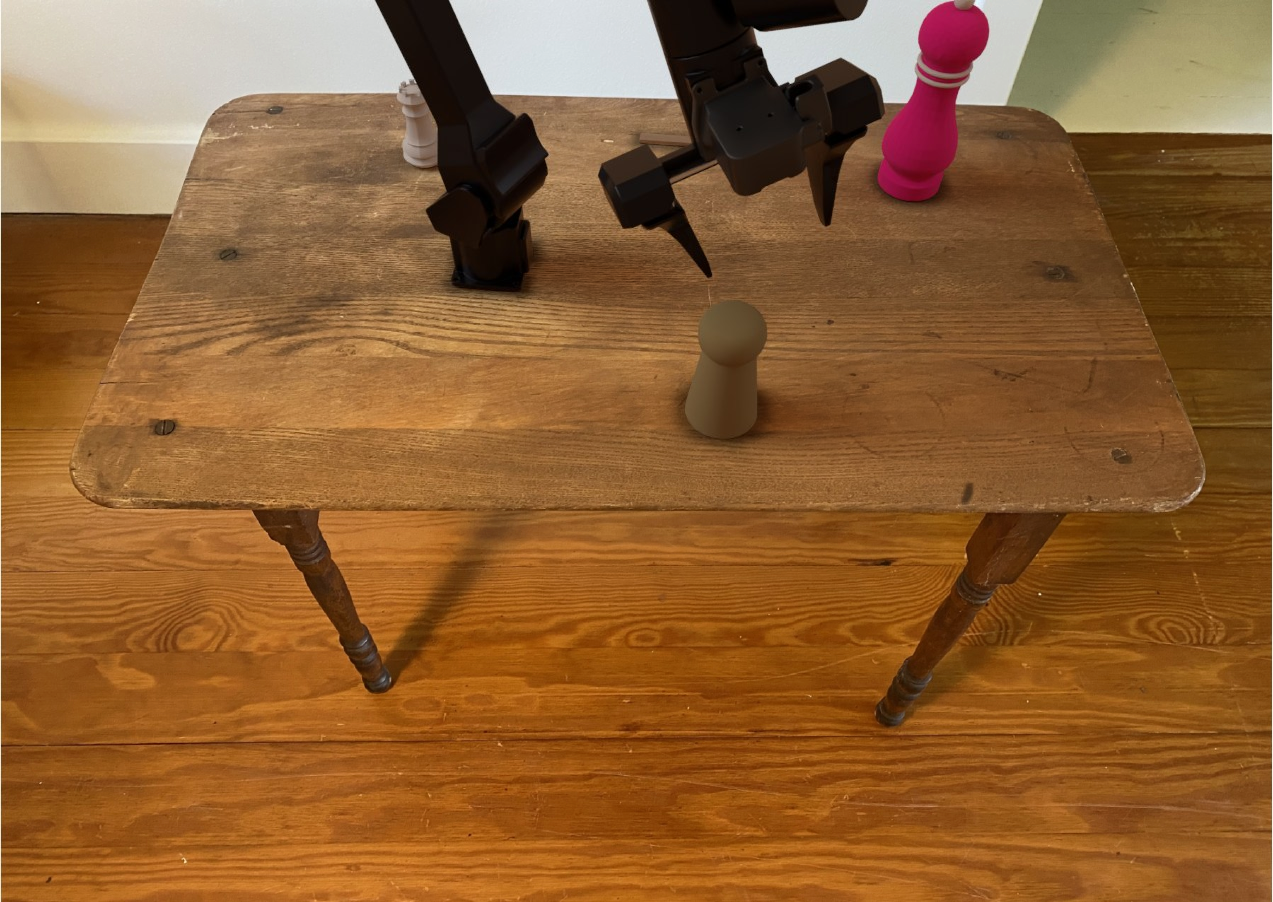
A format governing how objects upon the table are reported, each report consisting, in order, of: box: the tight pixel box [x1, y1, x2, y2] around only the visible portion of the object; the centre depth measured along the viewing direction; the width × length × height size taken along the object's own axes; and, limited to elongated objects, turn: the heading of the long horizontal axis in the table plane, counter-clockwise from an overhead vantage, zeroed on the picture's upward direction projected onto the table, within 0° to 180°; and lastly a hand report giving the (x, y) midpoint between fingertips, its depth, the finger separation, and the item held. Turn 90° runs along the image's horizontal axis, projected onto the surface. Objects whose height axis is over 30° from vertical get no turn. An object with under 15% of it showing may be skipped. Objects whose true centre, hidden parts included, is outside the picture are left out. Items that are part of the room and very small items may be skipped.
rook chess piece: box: [396, 78, 438, 169], centre depth 92 cm, size 4×4×8 cm
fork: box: [639, 132, 692, 147], centre depth 97 cm, size 19×2×1 cm, turn 85°
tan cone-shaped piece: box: [684, 299, 768, 440], centre depth 72 cm, size 6×6×11 cm
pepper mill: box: [877, 0, 990, 202], centre depth 86 cm, size 7×7×20 cm
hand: (767, 250), depth 67 cm, fingers open, 9 cm apart
